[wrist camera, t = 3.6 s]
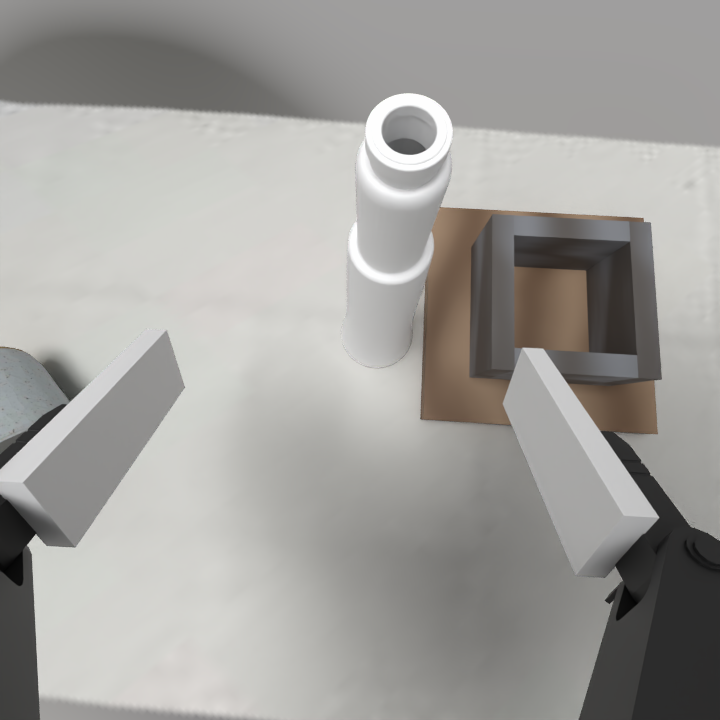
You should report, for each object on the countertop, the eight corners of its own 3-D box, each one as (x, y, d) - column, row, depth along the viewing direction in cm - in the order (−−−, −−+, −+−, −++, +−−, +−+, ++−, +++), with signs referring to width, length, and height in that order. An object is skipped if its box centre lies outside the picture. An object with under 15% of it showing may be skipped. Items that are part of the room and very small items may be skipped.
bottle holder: (630, 227, 32) (697, 179, 26) (642, 433, 29) (721, 437, 23) (427, 216, 32) (443, 166, 26) (420, 419, 30) (436, 419, 23)
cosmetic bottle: (403, 375, 30) (506, 268, 8) (333, 358, 30) (258, 210, 9) (418, 308, 31) (549, 53, 9) (350, 291, 31) (323, 7, 10)
